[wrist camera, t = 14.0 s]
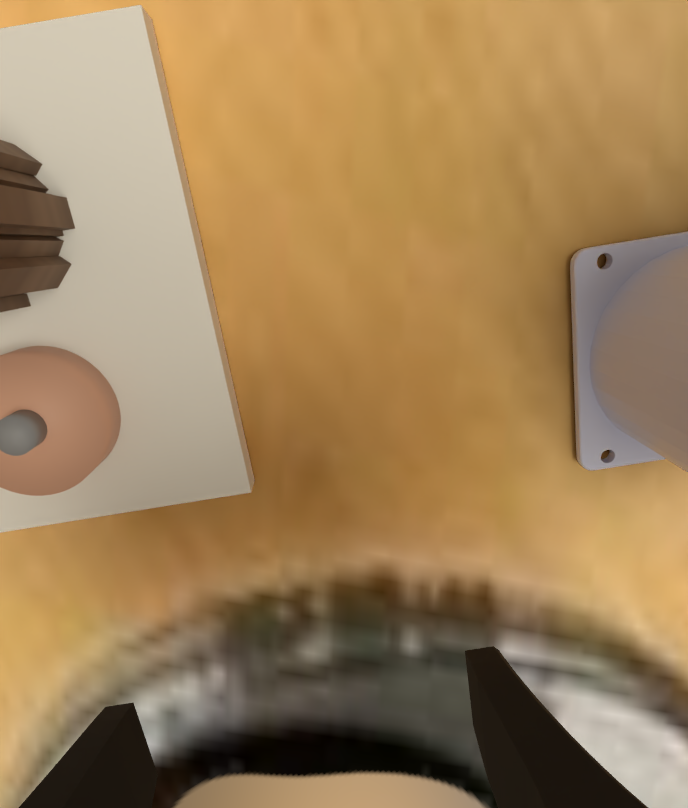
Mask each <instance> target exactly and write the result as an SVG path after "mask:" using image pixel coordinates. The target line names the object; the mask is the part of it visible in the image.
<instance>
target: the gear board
mask: <svg viewBox="0 0 688 808" xmlns="http://www.w3.org/2000/svg"><path fill="white" fill-rule="evenodd" d="M0 140H3V141H6V142H9V143H12V144H15V145H16V146H17V147H19V148H20V149H22V150H23V151H25V152H26V153H27V154H29V155H30V156H32V157H33V158H35V159H36V160H37V161H39V162H40V163H42V166H41V168H40V170H39V172H38V173H37V175H36V176H35V175H34V176H35V177H36V178H37V179H38V180H39V181H40V182H41V183H42V184H43V185H45V186H46V187H47V188H48V189H49V190H48V191H47V192H46V193H47V194H52V195H56V196H61V197H66V198H67V201H68V205H69V208H70V211H71V215H72V218H73V222H74V225H75V229H69V230H63V234H64V236H59V237H57V238H59V239H61V240H63V241H64V242H63V245H62V248H61V251H60V253H59V256H61V257H62V258H64V259H65V260H67V261H68V262H70V263H71V264H72V265H71V266H70V268H69V270H68V271H67V273H66V275H65V277H64V278H63V280H62V282H61V284H60V285H59V287H58V288H54V289H48V290H42V291H35V292H29V293H24V294H27V295H28V298H29V301H30V305H31V306H29V307H24V308H20V309H15V310H10V311H5V312H0V532H7V531H13V530H19V529H25V528H32V527H38V526H44V525H51V524H57V523H63V522H69V521H76V520H82V519H88V518H94V517H101V516H107V515H113V514H120V513H126V512H132V511H138V510H145V509H151V508H157V507H163V506H170V505H176V504H182V503H188V502H195V501H201V500H207V499H214V498H220V497H226V496H232V495H239V494H245V493H251V492H252V488H253V485H254V481H255V480H254V475H253V471H252V466H251V462H250V457H249V453H248V448H247V444H246V439H245V435H244V430H243V426H242V421H241V417H240V412H239V408H238V403H237V399H236V395H235V390H234V386H233V381H232V377H231V372H230V368H229V363H228V359H227V354H226V350H225V345H224V341H223V336H222V332H221V327H220V323H219V318H218V314H217V309H216V305H215V300H214V296H213V291H212V287H211V282H210V278H209V273H208V269H207V264H206V260H205V255H204V251H203V247H202V242H201V238H200V233H199V229H198V224H197V220H196V215H195V211H194V206H193V202H192V197H191V193H190V188H189V184H188V179H187V175H186V170H185V166H184V161H183V157H182V152H181V148H180V143H179V139H178V134H177V130H176V125H175V121H174V116H173V112H172V107H171V103H170V98H169V94H168V90H167V85H166V81H165V76H164V72H163V67H162V63H161V58H160V54H159V49H158V45H157V40H156V36H155V31H154V27H153V22H152V19H151V18H150V16H149V15H148V14H147V12H146V11H145V10H144V8H143V7H142V6H141V5H137V6H131V7H125V8H119V9H113V10H108V11H102V12H96V13H90V14H84V15H78V16H72V17H66V18H60V19H54V20H48V21H42V22H36V23H30V24H24V25H18V26H12V27H6V28H0Z"/></svg>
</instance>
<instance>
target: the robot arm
mask: <svg viewBox="0 0 688 808" xmlns="http://www.w3.org/2000/svg"><path fill="white" fill-rule="evenodd" d="M601 254H604V255H605V256H606V258H607V261H606V264H605V266H604V267H603V268H599V267H598V265H597V259H598V257H599V256H600V255H601ZM570 278H571V308H572V337H573V366H574V396H575V425H576V454H577V461H578V463H579V464H580V465H581V466H582V467H583V468H585V469H587V470H600V469H606V468H613V467H619V466H625V465H632V464H638V463H644V462H650V461H657V460H663V459H667V460H669V461H670V462H672V463H674V464H675V465H677V466H679V467H680V468H682V469H683V470H685V471H687V472H688V231H686V232H680V233H674V234H668V235H662V236H655V237H649V238H643V239H637V240H631V241H625V242H619V243H612V244H606V245H600V246H594V247H588V248H583V249H581V250H578V251H577V252H576V253H575V254H574V255H573V257H572V259H571V263H570ZM606 450H609V451H610V452H609V455H608V456H607V457H606V458H604V459H601V454H602V453H603V452H604V451H606ZM465 655H466V664H467V673H468V682H469V691H470V700H471V709H472V718H473V726H474V730H475V734H476V737H477V741H478V745H479V748H480V752H481V756H482V759H483V763H484V767H485V770H486V774H487V777H488V780H489V783H490V786H491V789H492V791H493V794H494V797H495V799H496V802H497V805H498V807H499V808H648V807H647V806H645V805H644V804H643V803H642V802H641V801H640V800H639V799H637V798H636V797H635V796H634V795H633V794H632V793H631V792H629V791H628V790H627V789H626V788H625V787H624V786H623V785H622V784H621V783H619V782H618V781H617V780H616V779H615V778H614V777H613V776H612V775H611V774H610V773H609V772H608V771H607V770H605V769H604V768H603V767H602V766H601V765H600V764H599V763H598V762H597V761H596V760H595V759H594V758H593V757H592V756H591V755H590V754H589V753H588V752H587V751H586V750H585V749H584V748H583V747H582V746H581V745H580V744H579V743H578V742H577V741H576V740H575V739H574V738H573V737H572V736H571V735H570V734H569V733H568V732H567V731H566V730H565V728H564V727H563V726H562V725H561V724H560V723H559V722H558V721H557V720H556V719H555V718H554V717H553V715H552V714H551V713H550V712H549V711H548V710H547V709H546V708H545V707H544V706H543V705H542V703H541V702H540V701H539V700H538V699H537V698H536V697H535V695H534V694H533V693H532V692H531V691H530V689H529V688H528V687H527V686H526V685H525V684H524V682H523V681H522V680H521V679H520V677H519V676H518V675H517V674H516V672H515V671H514V670H513V669H512V667H511V666H510V665H509V663H508V662H507V661H506V659H505V658H504V657H503V655H502V654H501V653H500V651H499V650H498V649H496V648H495V647H494V646H493V647H486V648H480V649H473V650H467V651H465ZM157 775H158V774H157V771H156V768H155V765H154V762H153V760H152V757H151V754H150V751H149V748H148V745H147V742H146V739H145V736H144V733H143V730H142V727H141V724H140V721H139V718H138V715H137V712H136V709H135V706H134V703H128V704H122V705H115V706H109V707H105V708H104V709H103V710H102V712H101V713H100V714H99V715H98V716H97V717H96V718H95V719H94V721H93V722H92V723H91V724H90V725H89V726H88V728H87V729H86V730H85V731H84V732H83V733H82V735H81V736H80V737H79V738H78V739H77V741H76V742H75V743H74V744H73V745H72V747H71V748H70V749H69V750H68V751H67V752H66V754H65V755H64V756H63V757H62V758H61V760H60V761H59V762H58V763H57V764H56V765H55V767H54V768H53V769H52V770H51V771H50V772H49V773H48V775H47V776H46V777H45V778H44V779H43V780H42V782H41V783H40V784H39V785H38V786H37V787H36V788H35V790H34V791H33V792H32V793H31V794H30V795H29V797H28V798H27V799H26V800H25V801H24V802H23V803H22V805H21V806H20V807H19V808H151V807H152V802H153V796H154V791H155V786H156V780H157Z"/></svg>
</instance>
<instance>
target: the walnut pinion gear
mask: <svg viewBox="0 0 688 808" xmlns="http://www.w3.org/2000/svg"><path fill="white" fill-rule="evenodd" d="M41 166H42V163H40V162H39V161H37V160H36V159H35V158H33V157H32V156H30V155H29V154H27V153H26V152H25V151H23V150H22V149H20V148H19V147H17V146H16V145H15V144H12V143H9V142H6V141H3V140H0V312H5V311H10V310H15V309H20V308H24V307H29V306H31V305H30V301H29V298H28V295H27V294H24V293H29V292H35V291H42V290H48V289H54V288H58V287H59V285H60V284H61V282H62V280H63V278H64V277H65V275H66V273H67V271H68V270H69V268H70V266H71V265H72V264H71V263H70V262H68V261H67V260H65V259H64V258H62V257H61V256H59V253H60V251H61V248H62V245H63V242H64V241H63V240H61V239H59V238H57V237H59V236H64V234H63V230H69V229H75V225H74V222H73V218H72V215H71V211H70V208H69V205H68V201H67V198H66V197H61V196H56V195H52V194H47V193H46V192H47V191H48V190H49V189H48V188H47V187H46V186H45V185H43V184H42V183H41V182H40V181H39V180H38V179H37V178H36V177H35V176H36V175H37V173H38V172H39V170H40V168H41ZM34 175H35V176H34Z"/></svg>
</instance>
